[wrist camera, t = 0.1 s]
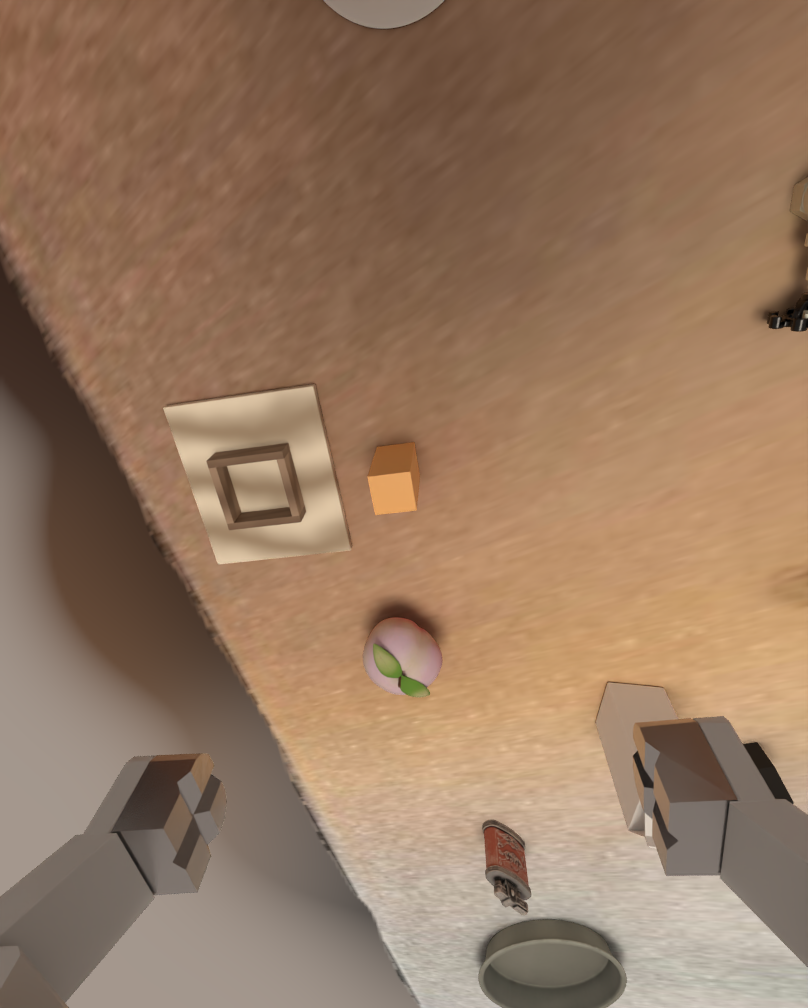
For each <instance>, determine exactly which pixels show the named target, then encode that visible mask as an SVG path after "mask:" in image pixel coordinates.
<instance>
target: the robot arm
mask: <svg viewBox="0 0 808 1008" xmlns="http://www.w3.org/2000/svg"><path fill="white" fill-rule="evenodd" d="M323 1H324V2H325V3H326V4H327V5H328V6H330V7H331V8H332V9H333V10H334V11H336V12H337V13H338V14H340V15H341V16H343V17H344V18H346V19H348V20H350V21H352V22H354V23H357V24H359V25H363V26H366V27H371V28H379V29H388V28H396V27H401V26H405V25H408V24H411V23H413V22H415V21H417V20H420V19H421V18H423V17H425V16H426V15H428V14H429V13H431V12H432V11H433V10H435V9H436V8H437V7H438V6H439V5H440V4H441V3H442V2H443V1H444V0H323ZM633 739H634V742H635V745H636V748H637V752H636V753H635V754H634V755H633V772H634V779H635V785H636V789H637V793H638V796H639V800H640V803H641V806H642V809H643V812H644V813H646V814H647V815H648V816H649V817H650V818H651V819H652V838H653V840H654V843H655V846H656V849H657V852H658V855H659V857H660V860H661V863H662V866H663V869H664V871H665V874H666V876H687V875H720V878H721V879H722V881H723V882H724V883H725V884H726V885H727V886H728V887H729V888H730V889H731V890H732V891H733V892H734V893H735V894H736V895H737V896H738V897H739V898H740V899H741V900H742V901H743V902H744V903H745V904H746V905H747V906H748V907H749V908H750V909H751V910H752V911H753V912H754V913H755V914H756V915H757V916H758V917H759V918H760V919H761V920H762V921H763V922H764V923H765V924H766V925H767V926H768V927H769V928H770V929H771V931H772V932H773V933H774V934H775V935H776V936H777V937H778V938H779V939H780V940H781V941H782V942H783V943H784V944H785V945H786V946H787V947H788V948H789V949H790V950H791V951H792V952H793V953H794V954H795V955H796V956H797V957H798V958H799V959H800V960H801V961H802V962H803V963H804V964H805V965H806V966H807V967H808V815H807V814H806V813H805V812H803V811H802V810H800V809H799V808H797V807H796V806H795V805H793V804H792V803H790V802H789V801H787V800H786V799H775V797H774V796H773V794H772V792H771V791H770V789H769V787H768V786H767V784H766V782H765V781H764V779H763V777H762V776H761V774H760V772H759V771H758V769H757V767H756V765H755V764H754V762H753V760H752V759H751V757H750V755H749V754H748V752H747V750H746V749H745V747H744V745H743V744H742V742H741V740H740V739H739V737H738V735H737V733H736V732H735V730H734V728H733V727H732V725H731V723H730V722H729V720H727V719H726V718H725V717H724V716H719V717H706V718H694V719H691V718H687V719H675V720H662V721H650V722H638V723H635V724H634V727H633ZM213 768H214V763H213V761H212V760H211V758H210V756H209V754H203V753H201V754H178V755H157V756H137V757H133V758H132V759H130V760H129V761H128V762H127V763H126V764H125V765H124V767H123V769H122V770H121V772H120V774H119V775H118V777H117V779H116V780H115V782H114V784H113V786H112V787H111V789H110V791H109V792H108V794H107V795H106V797H105V799H104V800H103V802H102V804H101V805H100V807H99V809H98V810H97V812H96V814H95V815H94V817H93V819H92V820H91V822H90V824H89V826H88V827H87V829H86V830H85V832H84V834H82V835H75V836H74V837H73V838H72V839H70V840H69V841H68V842H67V843H65V844H64V845H63V846H62V847H61V848H59V849H58V850H57V851H56V852H54V853H53V854H52V855H51V856H50V857H48V858H47V859H46V860H45V861H43V862H42V863H41V864H40V865H39V866H37V867H36V868H35V869H34V870H32V871H31V872H30V873H29V874H28V875H26V876H25V877H24V878H22V879H21V880H20V881H19V882H18V883H16V884H15V885H14V886H13V887H11V888H10V889H9V890H8V891H7V892H5V893H4V894H3V895H2V896H0V1008H69V1007H68V1006H67V1005H66V1004H65V1002H66V1001H67V1000H68V999H69V998H70V997H71V995H72V994H73V993H74V992H75V991H76V990H77V988H78V987H79V986H80V985H81V984H82V983H83V981H84V980H85V979H86V978H87V977H88V976H89V974H90V973H91V972H92V971H93V970H94V969H95V967H96V966H97V965H98V964H99V963H100V961H101V960H102V959H103V958H104V957H105V956H106V955H107V953H108V952H109V951H110V950H111V949H112V948H113V946H114V945H115V944H116V943H117V942H118V940H119V939H120V938H121V937H122V935H124V933H125V932H126V931H127V930H128V929H129V928H130V926H131V925H132V924H133V923H134V922H135V921H136V919H137V918H138V917H139V916H140V914H142V912H143V911H144V910H145V909H146V908H147V906H148V905H149V904H150V903H151V902H152V901H153V900H154V898H155V897H154V895H163V894H178V893H194V892H198V890H199V887H200V884H201V882H202V879H203V876H204V873H205V871H206V868H207V865H208V863H209V860H210V857H211V854H210V850H209V847H208V844H209V843H210V842H211V841H212V840H213V839H214V838H215V837H216V836H217V835H218V834H219V833H220V830H221V828H222V825H223V822H224V819H225V812H226V803H227V800H226V793H225V788H224V786H223V784H222V781H221V780H219V779H218V778H216V777H215V776H213V775H212V774H211V773H212V770H213Z"/></svg>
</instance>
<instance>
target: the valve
mask: <svg viewBox="0 0 808 1008" xmlns="http://www.w3.org/2000/svg"><path fill="white" fill-rule="evenodd" d="M790 212H792V213H793V214H795V215H797V216H799V217H801V218H802V219H804V220H806V221H808V177H806V178H805V179H803V180H802V181H800V182H799V183H797V184H796V185H794V189H793V194H792V200H791V206H790ZM804 246H805V247H808V233H807V234H806V239H805V244H804ZM805 280H807V281H808V269H807V274H806V279H805ZM778 314H779V311H771V312H769V314H768V319H767V324H769V328H772V329H780V328H783V327H791V331H806V330H807V328H808V292H806V293H803V294H802V297H801V298H800V299H799V300H798V302H797V304H796V307H795V308H789V309H787V311H786V314H785V315H782V316H778Z"/></svg>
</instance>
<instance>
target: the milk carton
mask: <svg viewBox="0 0 808 1008" xmlns="http://www.w3.org/2000/svg"><path fill="white" fill-rule="evenodd" d="M675 719H678V717H677V715H676V713H675V710H674V708H673V706H672V704H671V702H670V700H669V698H668V696H667V694H666V692H665V690H664V688H661V687H652V686H642V685H632V684H621V683H610V682H608V683H607V686H606V689H605V693H604V696H603V699H602V703H601V706H600V709H599V713H598V716H597V719H596V726H597V730H598V733H599V736H600V739H601V743H602V746H603V749H604V753H605V756H606V759H607V762H608V766H609V769H610V772H611V776H612V779H613V782H614V785H615V789H616V792H617V795H618V798H619V802H620V805H621V808H622V812H623V815H624V818H625V821H626V825H627V828H628V831H631V832H633V833H636V834H639V835H641V836H644V837H645V839H646V842H647V845H648V847H649V848H656V846H655V843H654V840H653V838H652V819H651V818H650V817H649V816H648V815H647V814H646V813H644V812H643V809H642V806H641V803H640V800H639V796H638V793H637V789H636V785H635V779H634V772H633V755H634V754H635V753H636V752H637V748H636V745H635V742H634V739H633V727H634V724H635V723H638V722H650V721H662V720H675Z"/></svg>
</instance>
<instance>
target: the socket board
mask: <svg viewBox="0 0 808 1008" xmlns="http://www.w3.org/2000/svg"><path fill="white" fill-rule="evenodd" d="M163 409H164V412H165V415H166V418H167V420H168V423H169V426H170V429H171V432H172V435H173V438H174V440H175V443H176V446H177V449H178V452H179V455H180V457H181V460H182V463H183V466H184V469H185V472H186V475H187V477H188V480H189V483H190V486H191V489H192V492H193V494H194V497H195V500H196V503H197V506H198V509H199V511H200V514H201V517H202V520H203V523H204V526H205V529H206V531H207V534H208V537H209V540H210V543H211V546H212V548H213V551H214V554H215V557H216V560H217V563H218V564H226V563H236V562H245V561H255V560H264V559H274V558H283V557H292V556H302V555H311V554H321V553H330V552H340V551H349V550H351V548H352V543H351V538H350V534H349V530H348V525H347V521H346V517H345V512H344V508H343V503H342V499H341V495H340V490H339V486H338V481H337V477H336V473H335V468H334V464H333V460H332V455H331V451H330V446H329V442H328V438H327V433H326V429H325V425H324V420H323V416H322V411H321V407H320V403H319V398H318V394H317V390H316V385H315V384H310V385H303V386H296V387H289V388H282V389H275V390H269V391H262V392H255V393H248V394H241V395H234V396H227V397H221V398H214V399H207V400H200V401H193V402H186V403H180V404H173V405H167V406H165V407H164V408H163Z"/></svg>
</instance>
